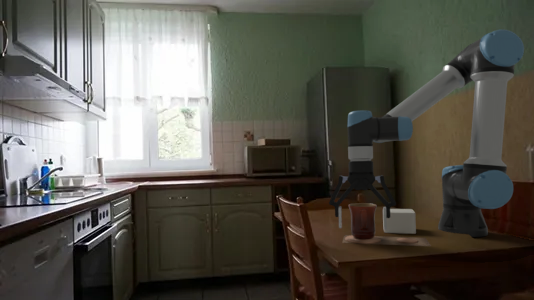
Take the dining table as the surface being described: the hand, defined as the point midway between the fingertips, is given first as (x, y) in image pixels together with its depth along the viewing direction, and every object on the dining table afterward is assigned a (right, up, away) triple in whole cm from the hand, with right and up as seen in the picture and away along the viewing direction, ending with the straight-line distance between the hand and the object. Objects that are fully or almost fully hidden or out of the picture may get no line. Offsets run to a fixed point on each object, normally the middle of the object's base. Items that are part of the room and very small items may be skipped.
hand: (362, 228), depth 116 cm
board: (+6, -5, -2) cm, 8 cm away
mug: (0, -3, 0) cm, 3 cm away
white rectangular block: (+16, -5, +13) cm, 21 cm away
